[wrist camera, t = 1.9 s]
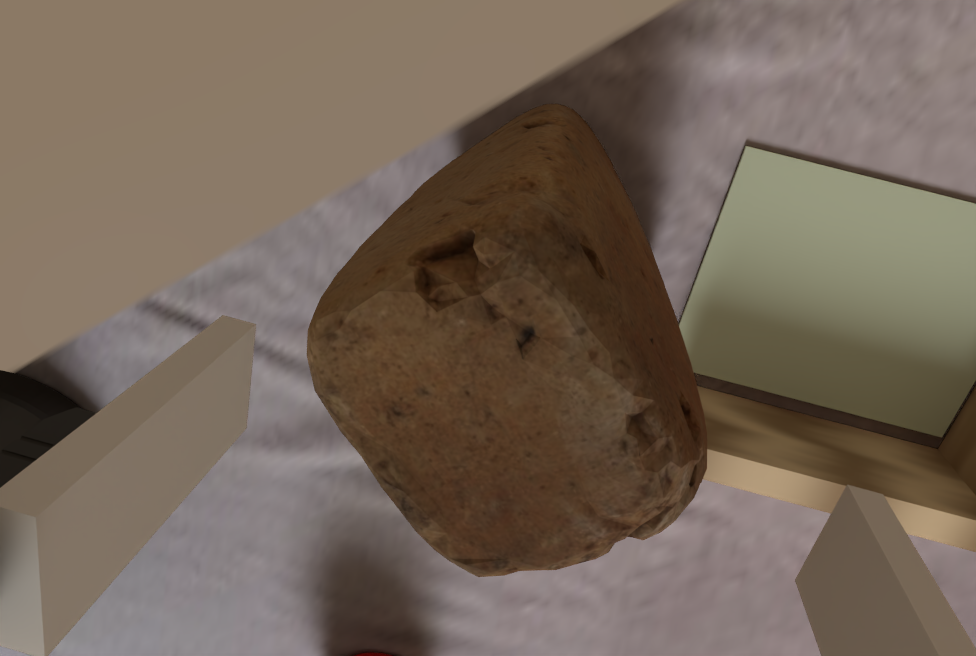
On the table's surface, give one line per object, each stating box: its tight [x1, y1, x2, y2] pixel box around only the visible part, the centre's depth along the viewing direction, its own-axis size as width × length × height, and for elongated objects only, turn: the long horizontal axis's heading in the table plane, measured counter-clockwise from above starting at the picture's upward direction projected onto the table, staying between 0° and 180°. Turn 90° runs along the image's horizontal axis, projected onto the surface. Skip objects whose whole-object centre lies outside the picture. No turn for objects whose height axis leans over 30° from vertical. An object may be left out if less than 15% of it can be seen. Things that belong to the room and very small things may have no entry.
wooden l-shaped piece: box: [697, 386, 976, 552], centre depth 30 cm, size 15×16×6 cm
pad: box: [679, 145, 976, 438], centre depth 33 cm, size 14×11×1 cm
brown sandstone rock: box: [307, 104, 707, 577], centre depth 24 cm, size 11×8×20 cm
